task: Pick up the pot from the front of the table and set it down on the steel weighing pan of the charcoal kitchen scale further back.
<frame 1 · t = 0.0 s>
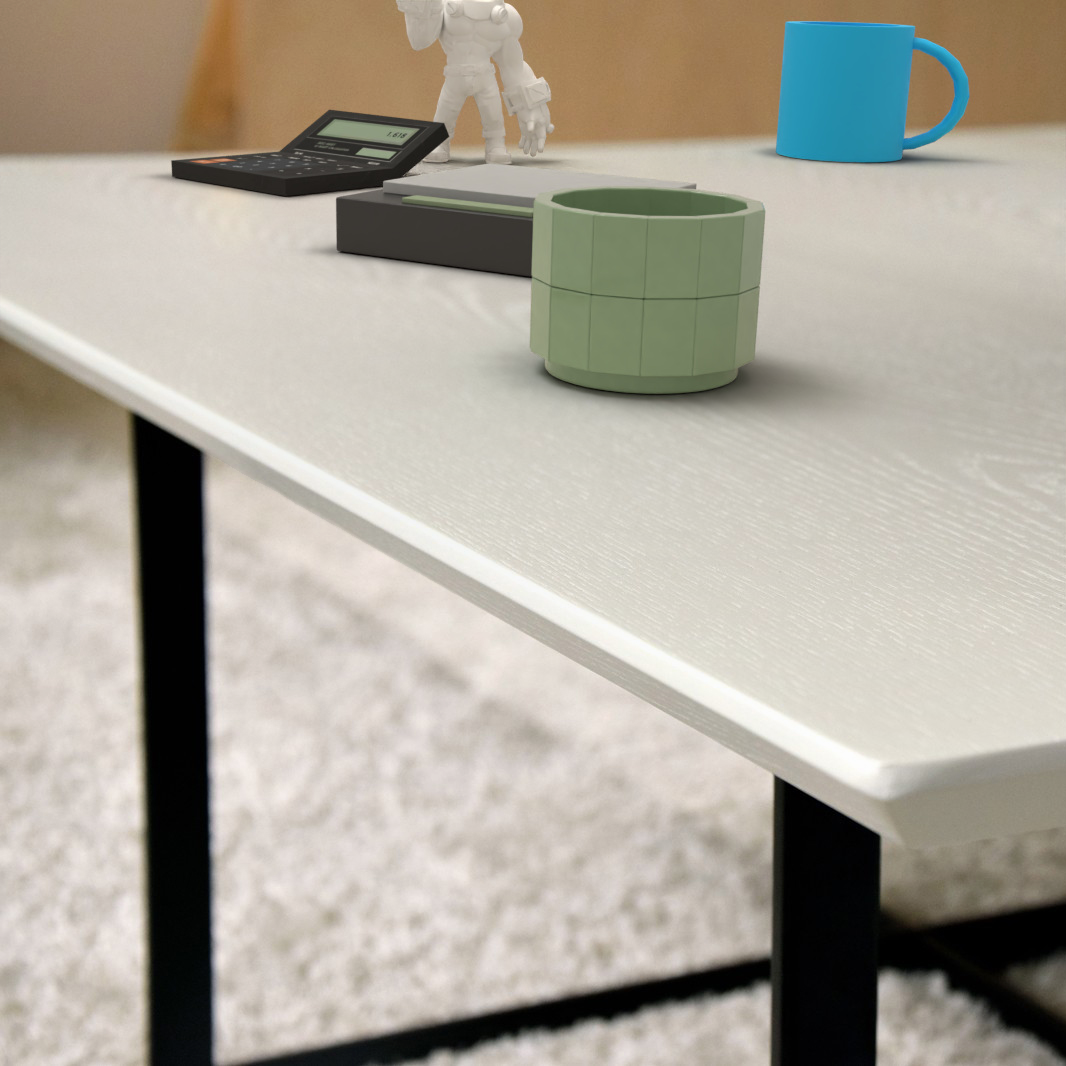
figurine: (476, 166, 97), on the table
mug: (868, 159, 106), on the table
scale: (529, 249, 69), on the table
pot: (640, 370, 49), on the table
calculator: (312, 181, 89), on the table
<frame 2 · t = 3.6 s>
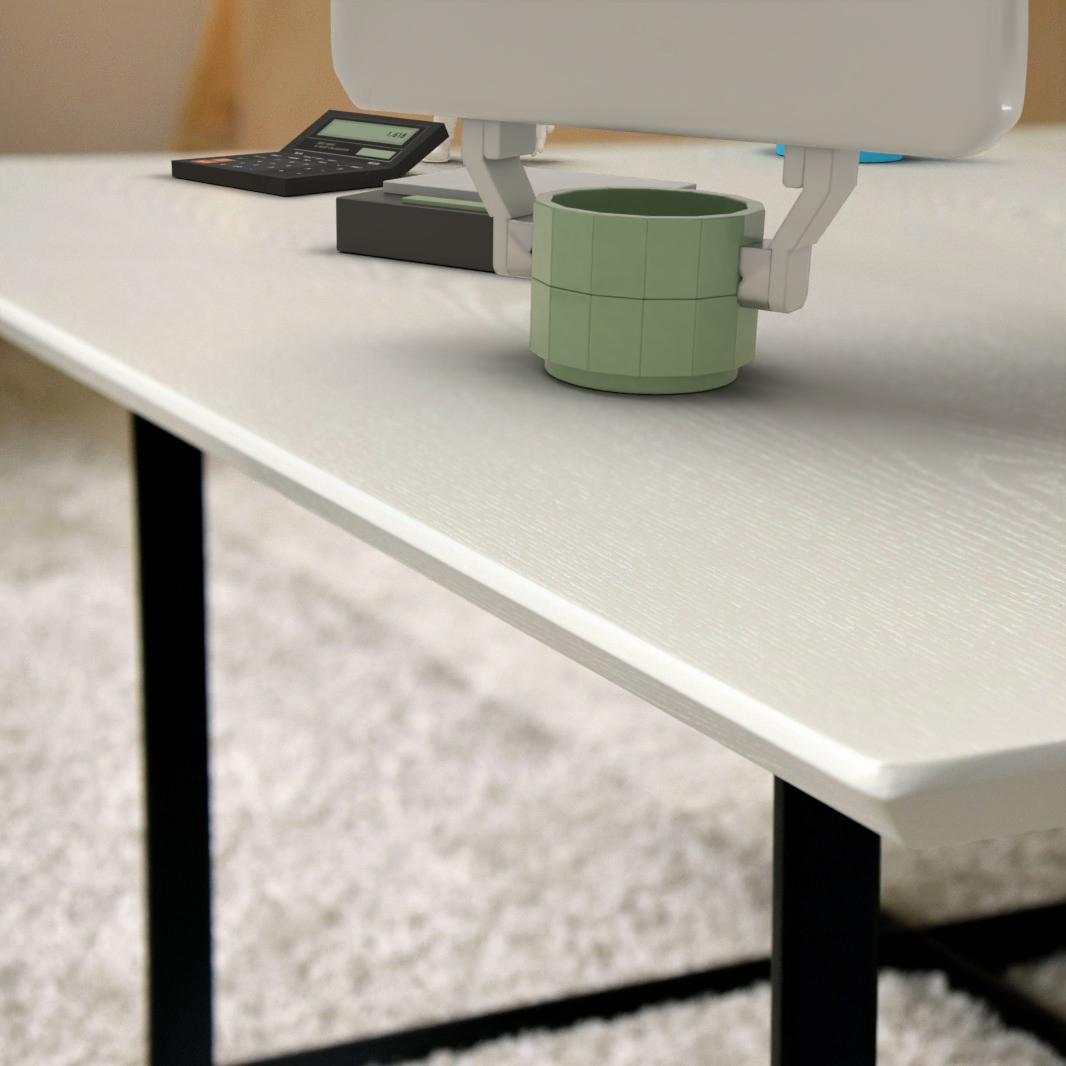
hand: (643, 291, 48), 2 cm above the table, tool pointing down, fingers closed on pot, 6 cm apart
pot: (640, 370, 49), on the table, touching gripper
everything else where it was.
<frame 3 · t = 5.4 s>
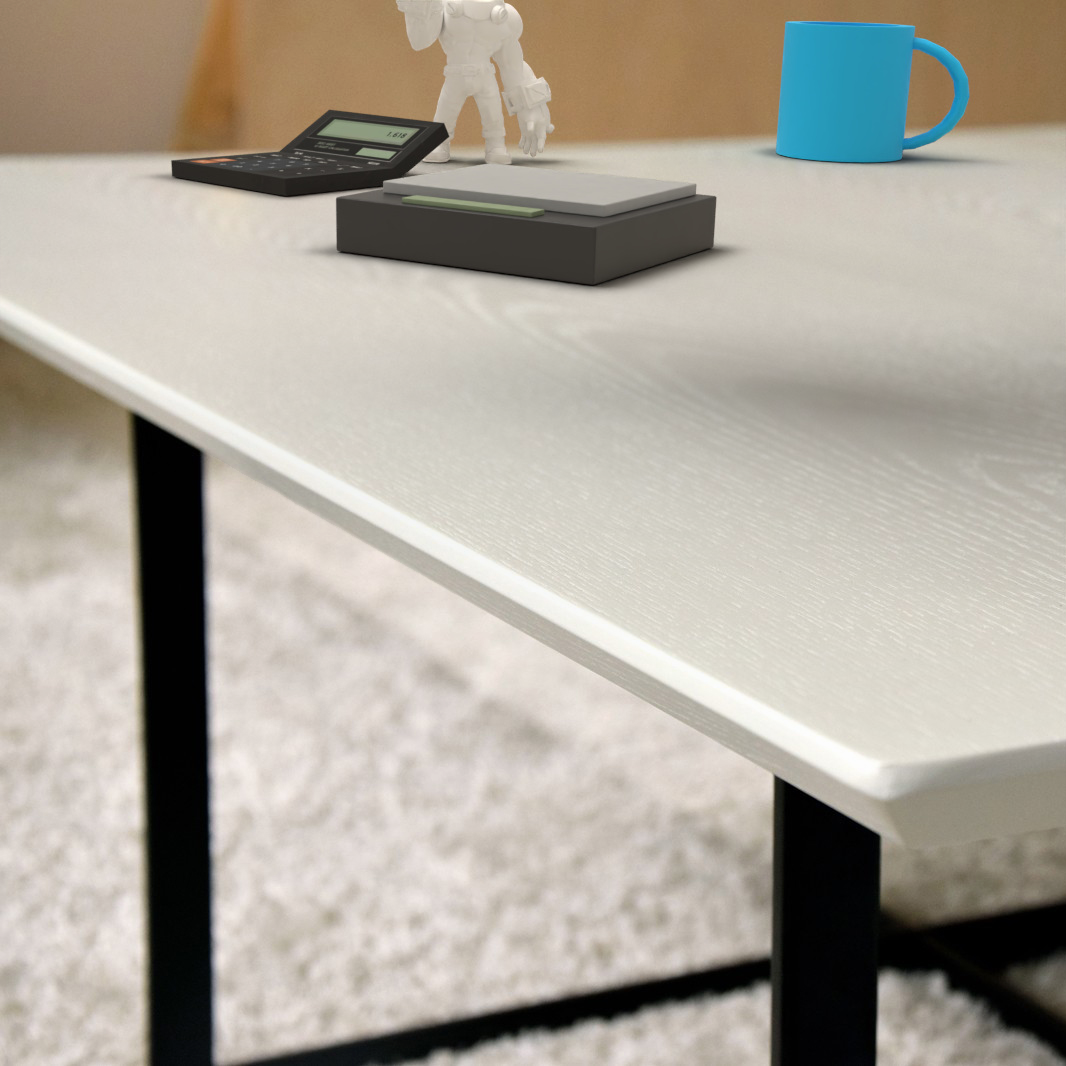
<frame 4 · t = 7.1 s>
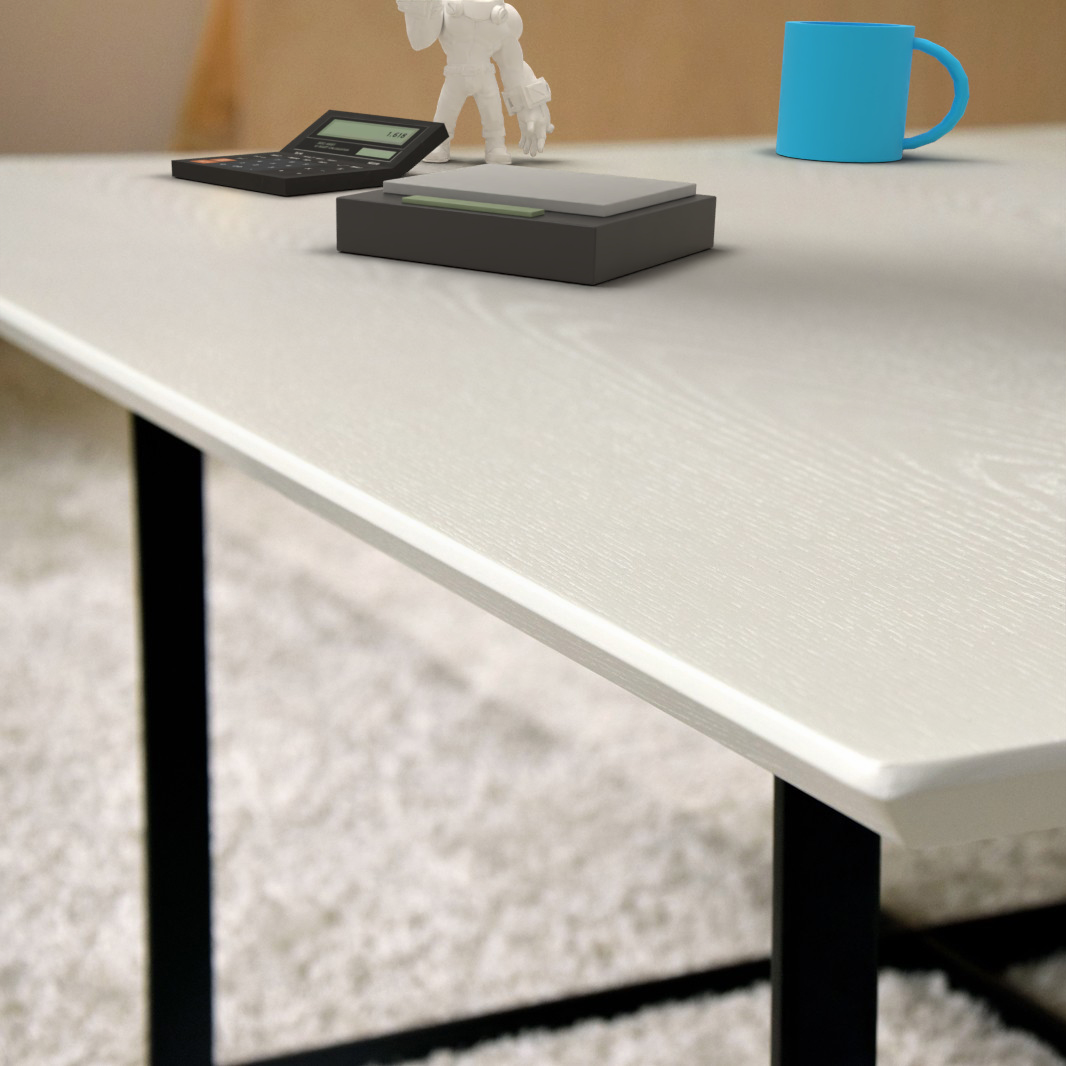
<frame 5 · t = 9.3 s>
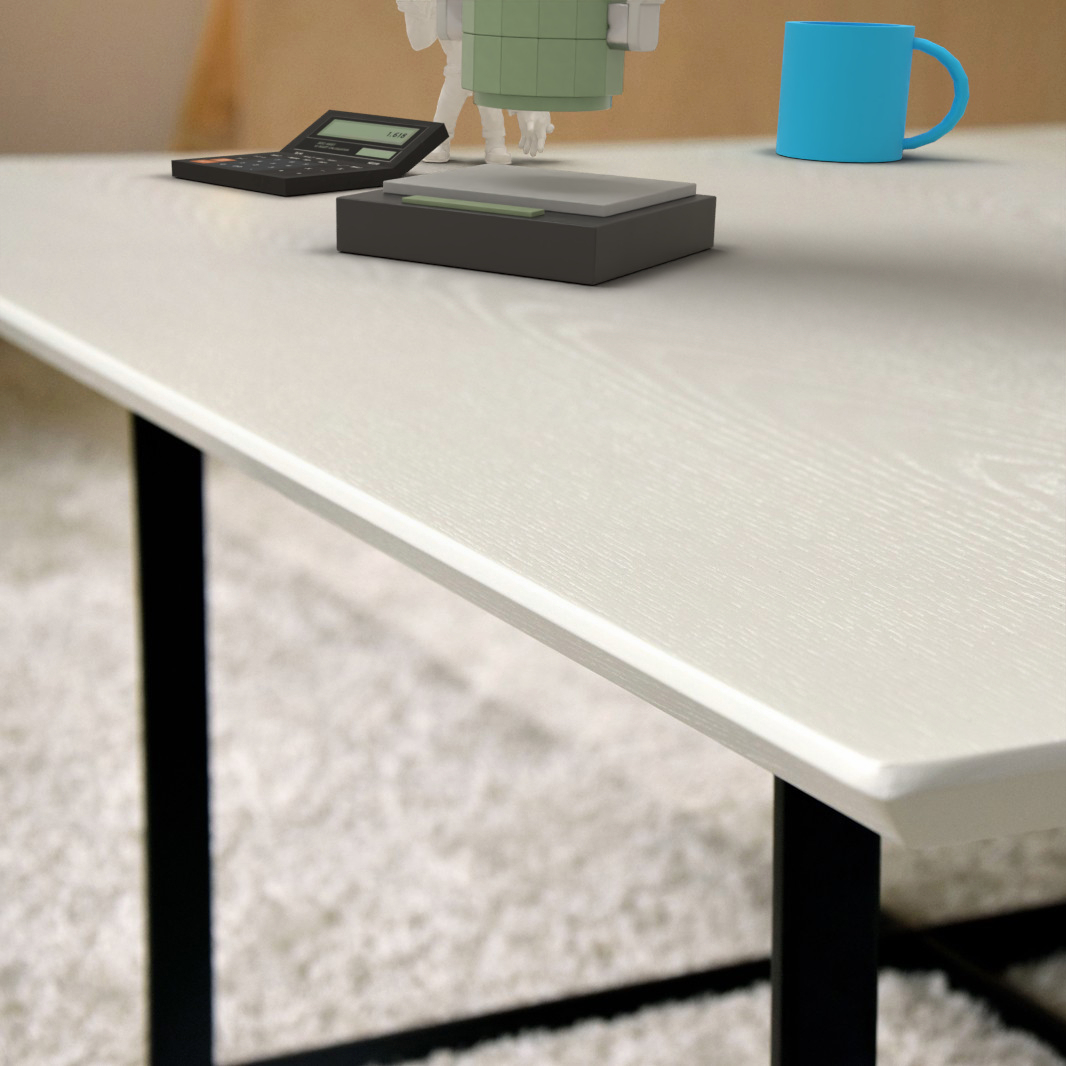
hand: (543, 45, 67), 8 cm above the table, tool pointing down, fingers closed on pot, 6 cm apart
pot: (542, 105, 67), point 6 cm above the table, touching gripper
everything else where it was.
when the fingers open (5 cm above the table, at t = 10.8 s): pot stays where it is, resting on scale.
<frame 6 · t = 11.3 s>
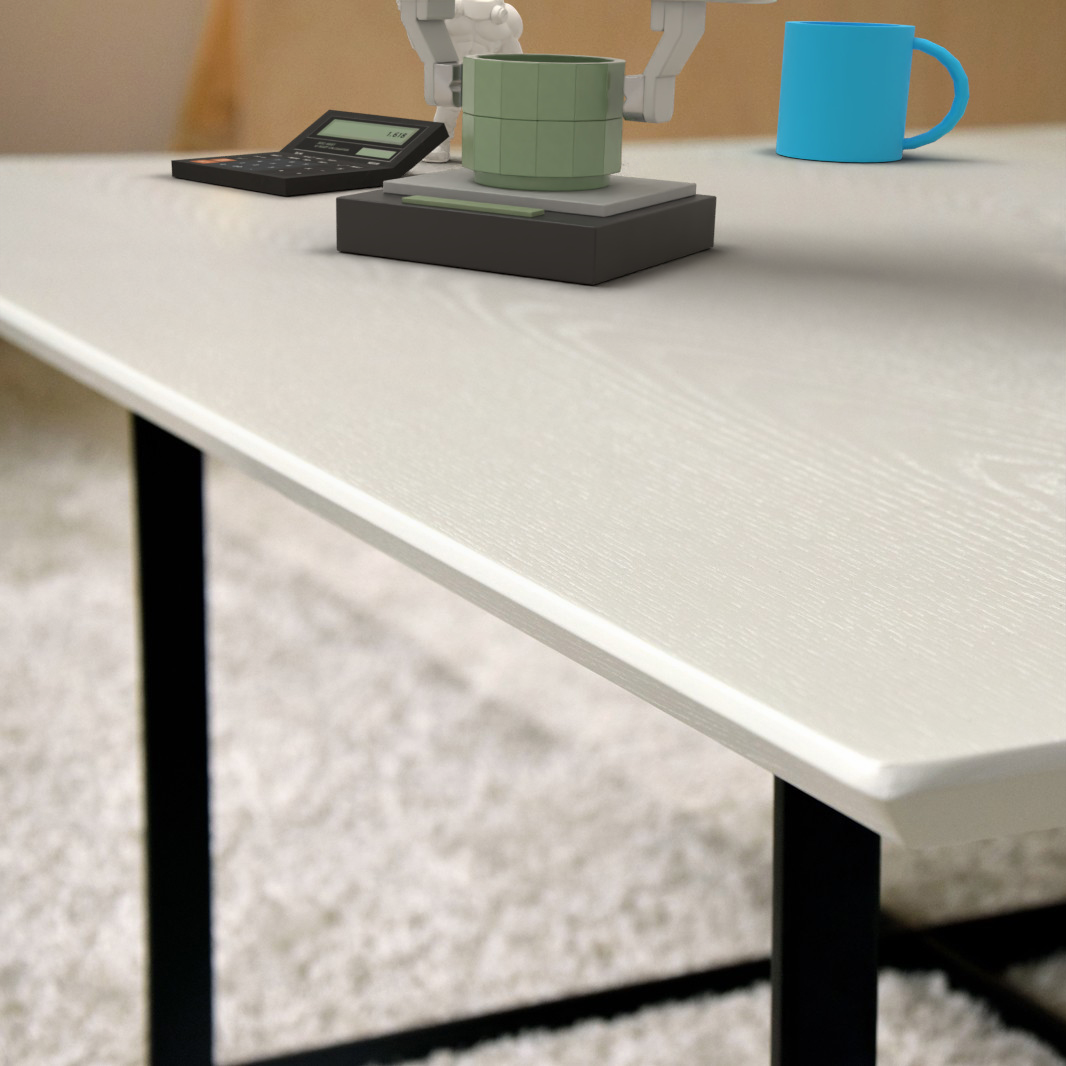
hand: (545, 113, 67), 5 cm above the table, tool pointing down, fingers open, 8 cm apart
pot: (541, 182, 68), point 3 cm above the table, touching scale
everything else where it was.
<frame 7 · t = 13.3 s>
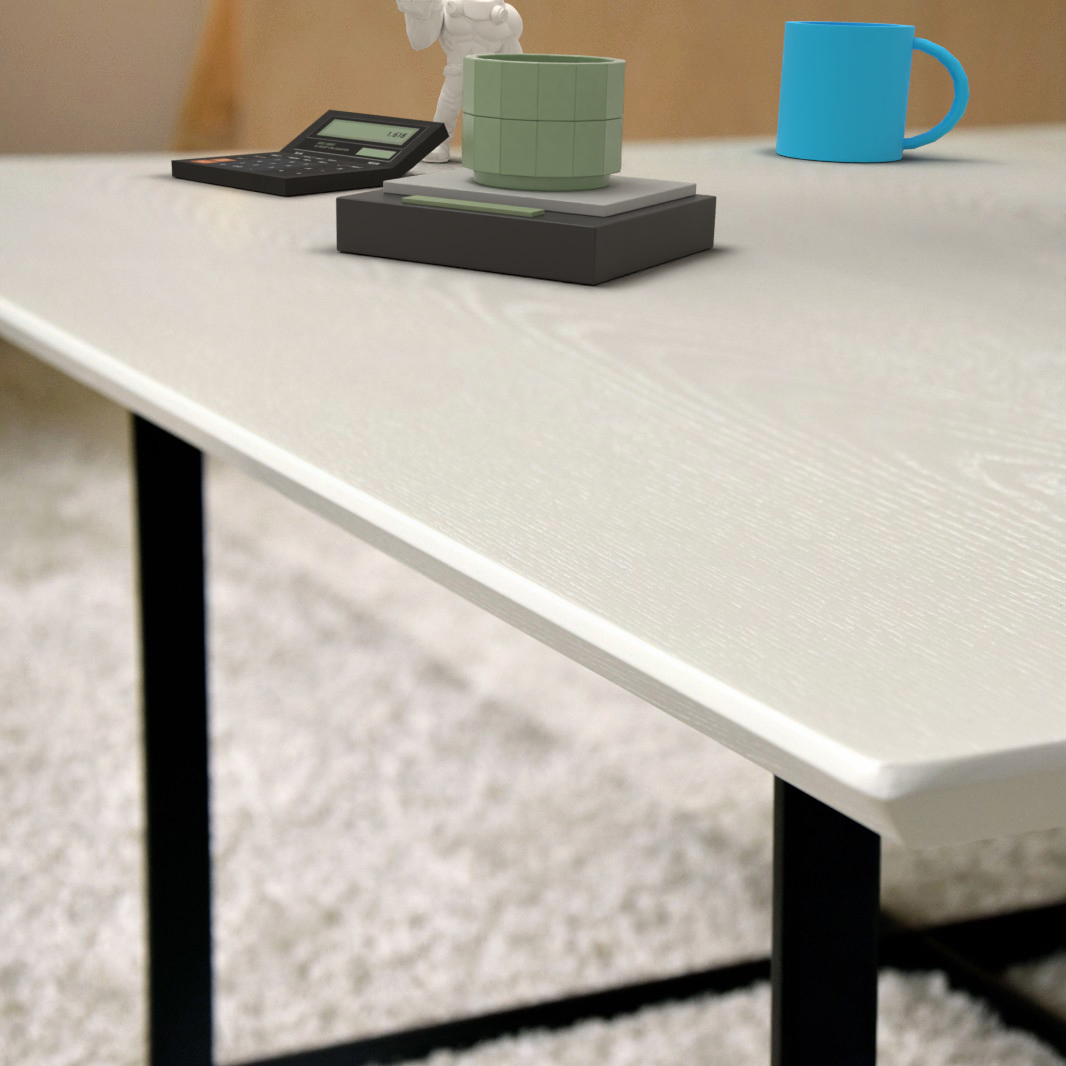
nothing on the table moved.
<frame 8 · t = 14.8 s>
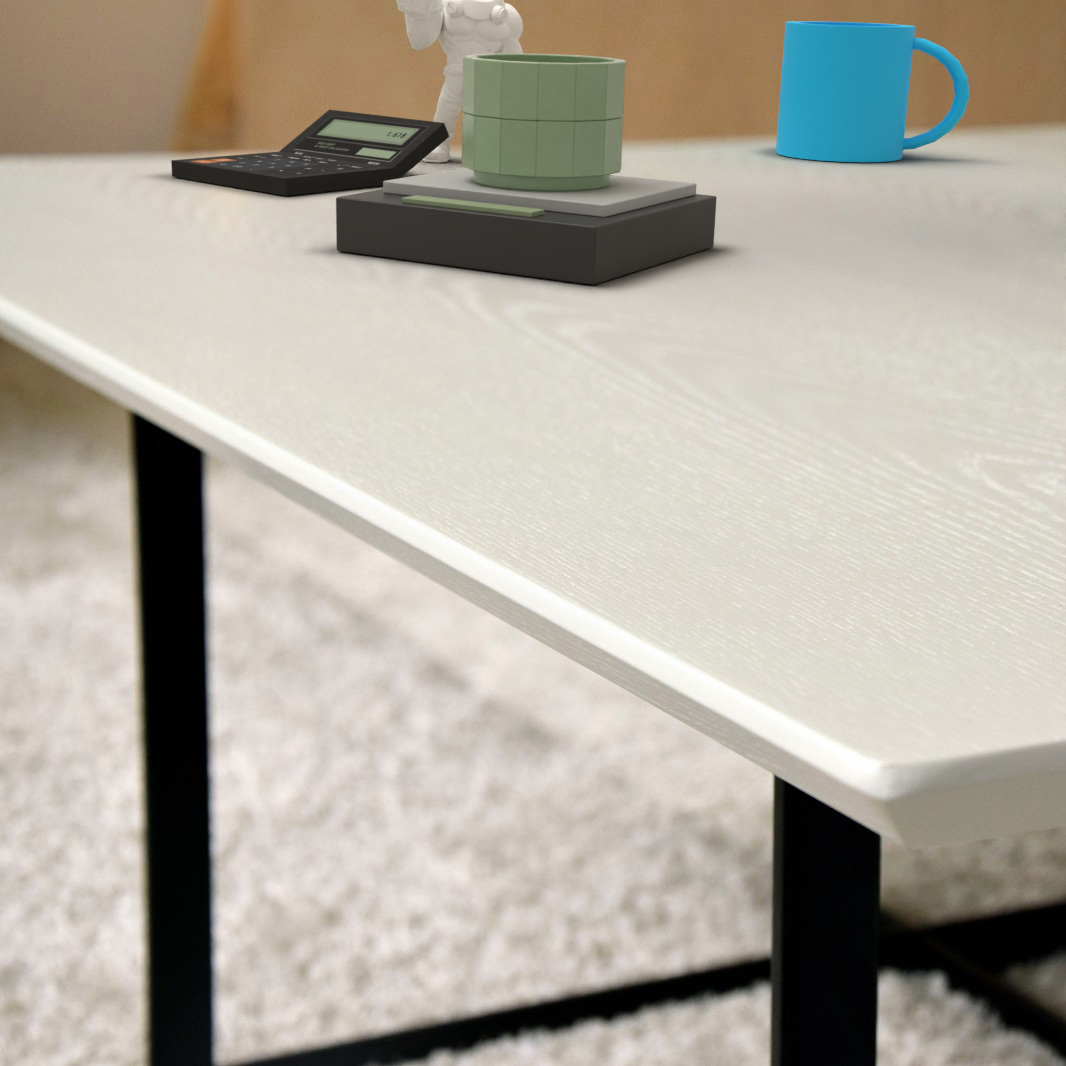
nothing on the table moved.
at the end: pot inside the target area on the scale (0.2 cm from its centre), point 2.7 cm above the scale's base; pot tilted 0°; the gripper is holding nothing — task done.
